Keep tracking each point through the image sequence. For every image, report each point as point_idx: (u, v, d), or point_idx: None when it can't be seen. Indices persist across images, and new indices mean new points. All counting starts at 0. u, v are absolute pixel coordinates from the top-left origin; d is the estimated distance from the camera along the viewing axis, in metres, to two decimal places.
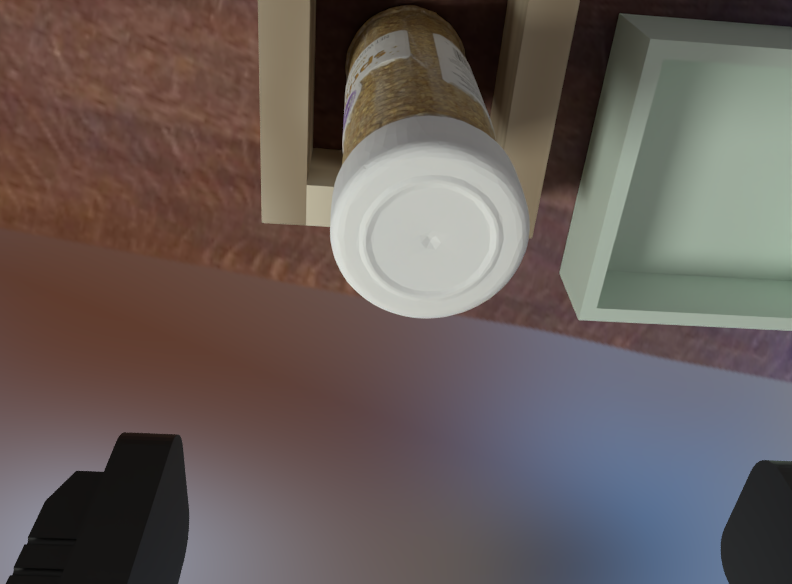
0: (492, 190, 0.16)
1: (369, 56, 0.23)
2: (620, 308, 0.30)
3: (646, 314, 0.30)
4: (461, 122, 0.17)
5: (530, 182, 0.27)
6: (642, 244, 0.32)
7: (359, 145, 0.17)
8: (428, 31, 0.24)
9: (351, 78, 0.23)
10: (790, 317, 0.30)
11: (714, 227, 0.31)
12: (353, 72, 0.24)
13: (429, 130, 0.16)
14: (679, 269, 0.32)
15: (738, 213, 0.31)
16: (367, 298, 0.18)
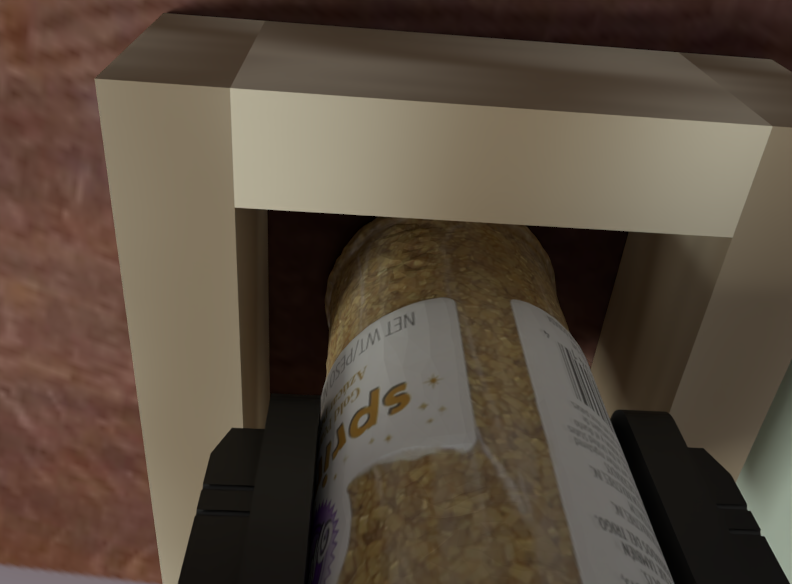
0: None
1: (371, 384, 0.10)
2: None
3: None
4: None
5: None
6: None
7: None
8: (499, 290, 0.11)
9: (330, 416, 0.10)
10: None
11: None
12: (335, 399, 0.11)
13: None
14: None
15: None
16: None
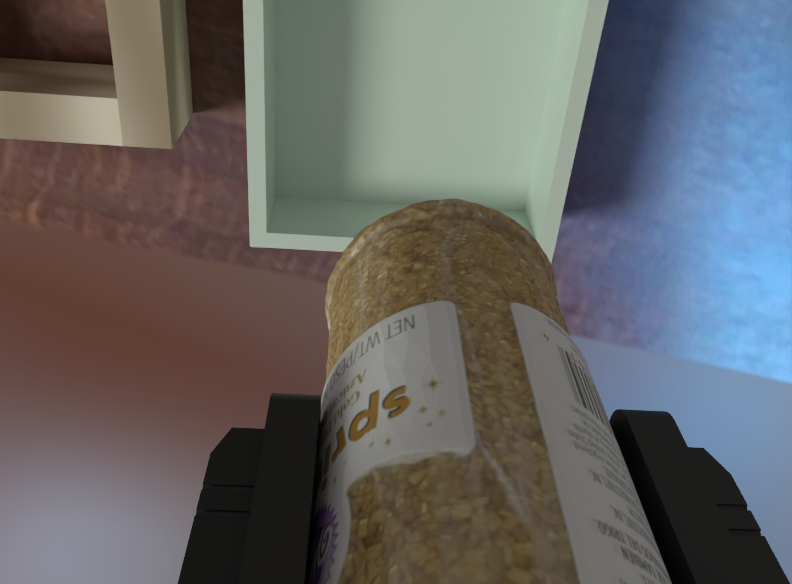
0: None
1: (371, 387, 0.10)
2: (294, 233, 0.27)
3: (324, 240, 0.27)
4: None
5: (152, 81, 0.24)
6: (340, 167, 0.29)
7: None
8: (499, 293, 0.11)
9: (330, 419, 0.10)
10: None
11: (416, 147, 0.28)
12: (335, 402, 0.11)
13: None
14: (388, 197, 0.29)
15: (439, 131, 0.28)
16: None
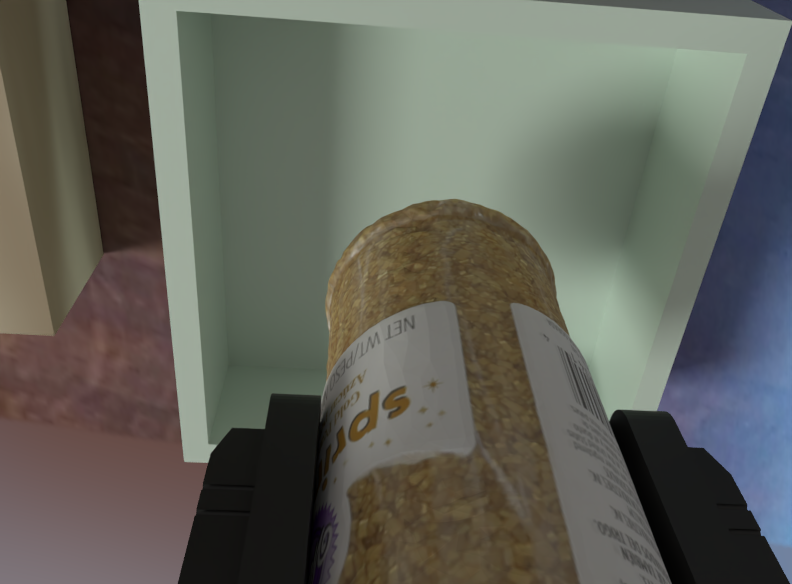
0: None
1: (371, 387, 0.10)
2: None
3: None
4: None
5: (12, 242, 0.15)
6: (321, 327, 0.20)
7: None
8: (499, 293, 0.11)
9: (330, 419, 0.10)
10: None
11: None
12: (335, 403, 0.11)
13: None
14: None
15: None
16: None
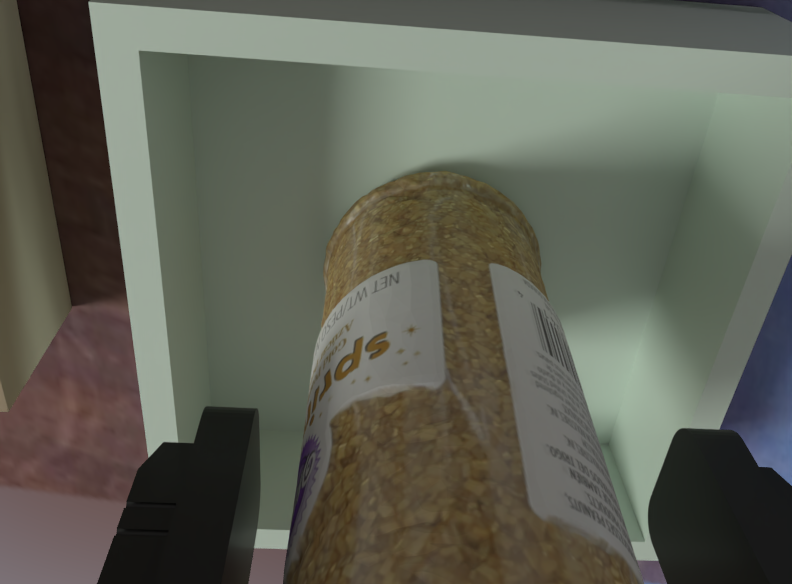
0: None
1: (356, 334, 0.11)
2: None
3: (285, 535, 0.16)
4: None
5: None
6: None
7: None
8: (479, 255, 0.12)
9: (320, 365, 0.11)
10: None
11: None
12: (325, 350, 0.11)
13: None
14: None
15: None
16: None
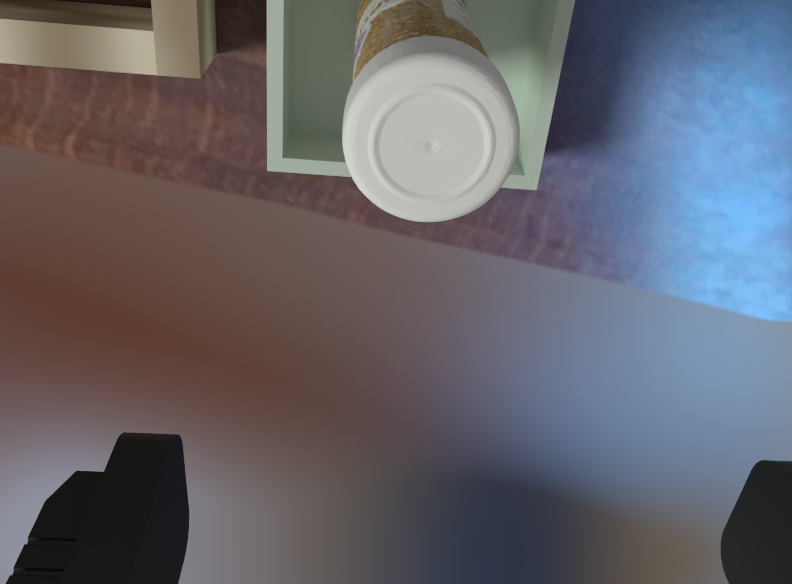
0: (487, 98, 0.18)
1: (378, 2, 0.25)
2: (307, 159, 0.30)
3: (333, 165, 0.30)
4: (460, 42, 0.19)
5: (184, 15, 0.27)
6: None
7: (369, 62, 0.19)
8: None
9: (361, 23, 0.26)
10: None
11: None
12: (363, 18, 0.26)
13: (432, 45, 0.18)
14: None
15: None
16: (374, 201, 0.20)
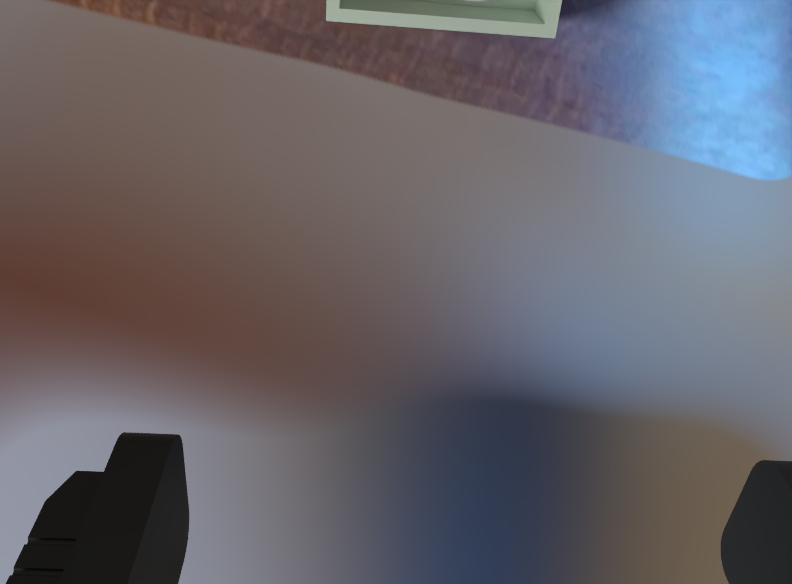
0: None
1: None
2: (360, 9, 0.35)
3: (382, 15, 0.35)
4: None
5: None
6: None
7: None
8: None
9: None
10: (508, 21, 0.36)
11: None
12: None
13: None
14: None
15: None
16: None
